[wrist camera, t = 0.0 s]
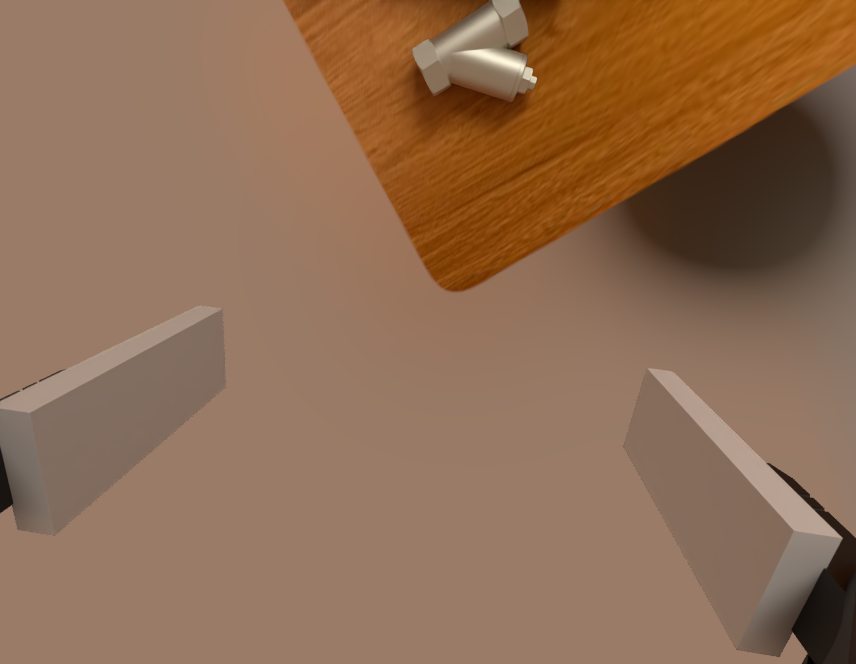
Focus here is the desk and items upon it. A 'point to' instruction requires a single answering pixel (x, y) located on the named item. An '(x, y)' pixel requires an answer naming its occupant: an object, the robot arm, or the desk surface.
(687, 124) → the desk surface
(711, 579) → the robot arm
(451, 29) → the pipe fitting
